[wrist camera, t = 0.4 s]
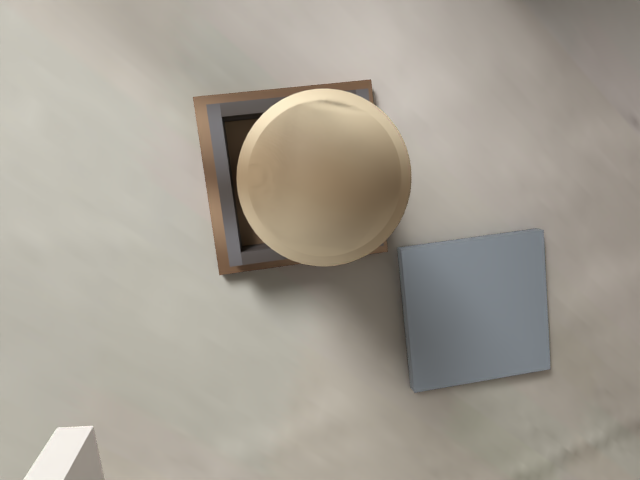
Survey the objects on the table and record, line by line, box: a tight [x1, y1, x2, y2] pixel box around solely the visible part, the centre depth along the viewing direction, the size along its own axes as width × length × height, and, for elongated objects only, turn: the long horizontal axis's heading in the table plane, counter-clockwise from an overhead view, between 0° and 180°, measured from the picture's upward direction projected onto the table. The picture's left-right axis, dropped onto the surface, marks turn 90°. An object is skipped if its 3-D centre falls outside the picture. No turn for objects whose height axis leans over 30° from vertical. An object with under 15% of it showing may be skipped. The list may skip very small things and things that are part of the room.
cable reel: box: [237, 89, 411, 267], centre depth 26 cm, size 7×7×15 cm
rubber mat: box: [397, 229, 550, 393], centre depth 37 cm, size 11×11×1 cm
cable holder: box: [193, 80, 388, 275], centre depth 33 cm, size 12×12×4 cm
